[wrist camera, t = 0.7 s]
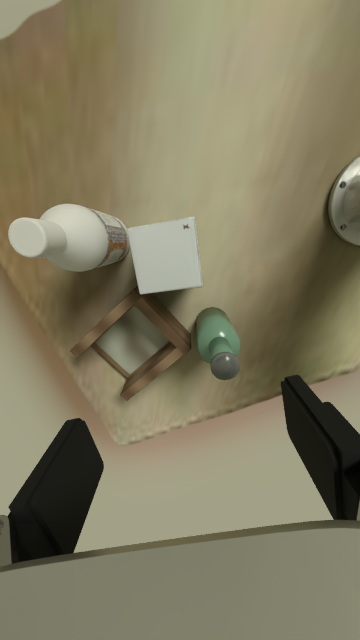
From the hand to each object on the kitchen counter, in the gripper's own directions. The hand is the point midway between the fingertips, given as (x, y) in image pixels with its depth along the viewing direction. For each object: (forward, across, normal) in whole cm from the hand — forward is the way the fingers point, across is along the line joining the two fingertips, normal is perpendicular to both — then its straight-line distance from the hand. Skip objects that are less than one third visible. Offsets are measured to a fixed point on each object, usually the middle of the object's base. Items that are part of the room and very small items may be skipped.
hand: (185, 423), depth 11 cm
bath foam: (+30, +10, -11) cm, 33 cm away
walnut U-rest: (+30, +10, +5) cm, 32 cm away
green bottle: (+30, -3, +6) cm, 30 cm away
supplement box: (+30, 0, -7) cm, 31 cm away
